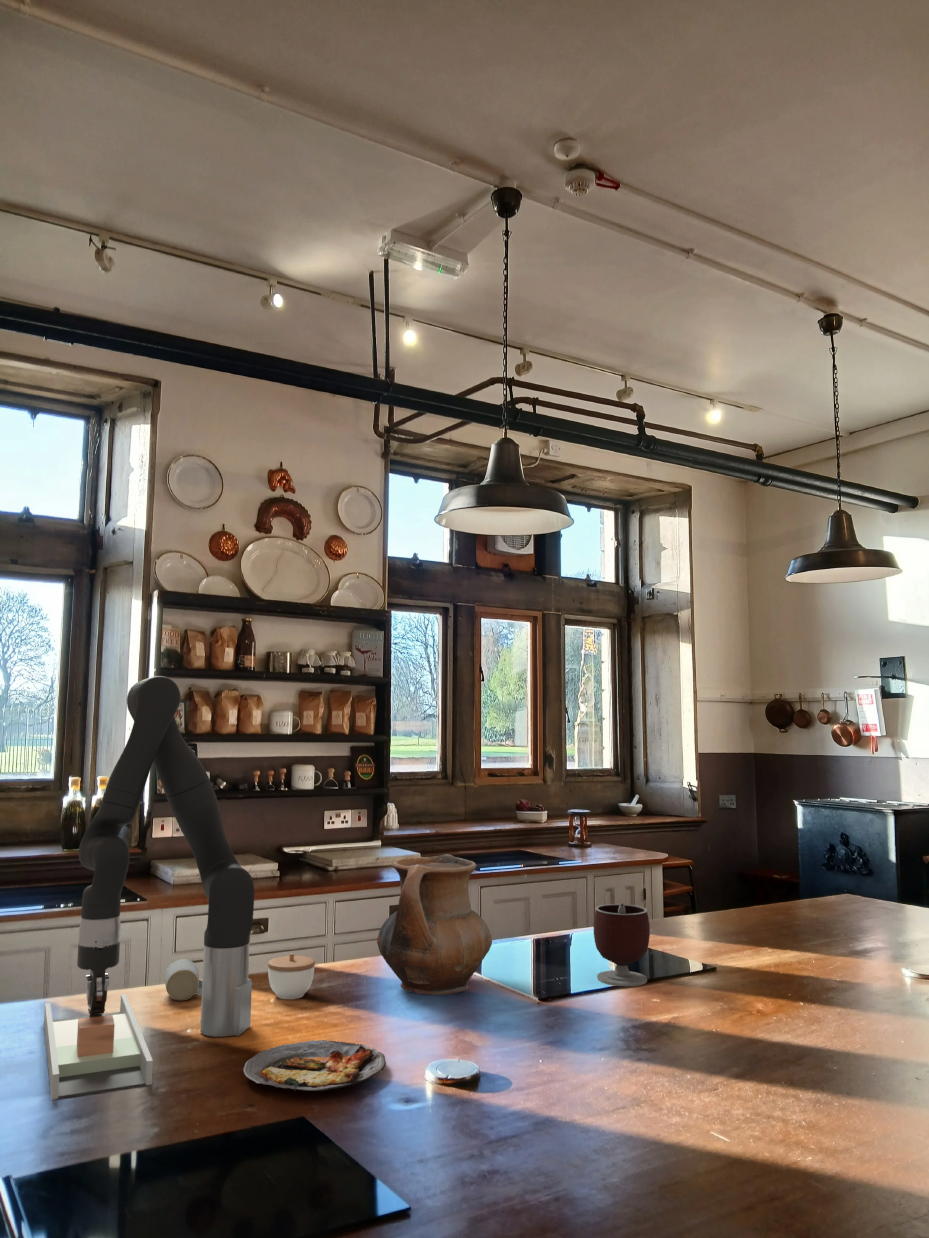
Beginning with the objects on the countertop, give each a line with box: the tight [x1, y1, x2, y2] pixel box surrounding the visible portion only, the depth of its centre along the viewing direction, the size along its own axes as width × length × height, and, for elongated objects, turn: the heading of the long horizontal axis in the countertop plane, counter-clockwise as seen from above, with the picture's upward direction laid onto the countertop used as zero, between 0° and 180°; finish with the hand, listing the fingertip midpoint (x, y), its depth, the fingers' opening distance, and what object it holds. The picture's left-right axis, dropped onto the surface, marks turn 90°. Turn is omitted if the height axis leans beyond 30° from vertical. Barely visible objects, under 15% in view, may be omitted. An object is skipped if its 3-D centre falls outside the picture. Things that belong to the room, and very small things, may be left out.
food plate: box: [243, 1039, 387, 1092], centre depth 167 cm, size 25×23×4 cm
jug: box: [376, 853, 493, 996], centre depth 226 cm, size 32×28×30 cm
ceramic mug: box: [164, 958, 202, 1002], centre depth 214 cm, size 11×8×8 cm
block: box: [77, 1015, 115, 1057], centre depth 171 cm, size 6×6×5 cm
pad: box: [56, 1037, 140, 1077], centre depth 171 cm, size 10×14×2 cm
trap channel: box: [43, 993, 154, 1101], centre depth 178 cm, size 44×16×4 cm, turn 26°
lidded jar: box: [267, 952, 316, 1000], centre depth 215 cm, size 11×11×9 cm
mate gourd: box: [593, 902, 651, 987], centre depth 231 cm, size 16×14×20 cm
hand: (94, 1033), depth 177 cm, fingers closed
